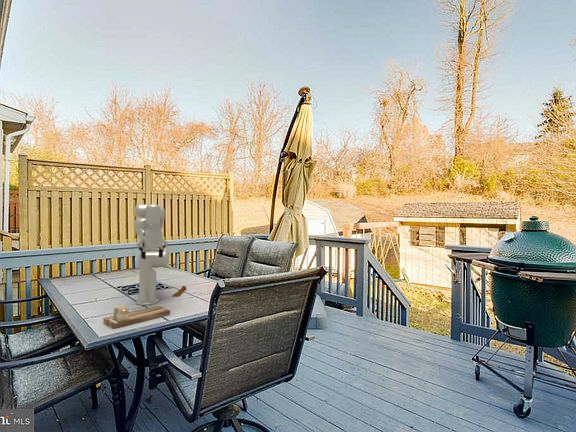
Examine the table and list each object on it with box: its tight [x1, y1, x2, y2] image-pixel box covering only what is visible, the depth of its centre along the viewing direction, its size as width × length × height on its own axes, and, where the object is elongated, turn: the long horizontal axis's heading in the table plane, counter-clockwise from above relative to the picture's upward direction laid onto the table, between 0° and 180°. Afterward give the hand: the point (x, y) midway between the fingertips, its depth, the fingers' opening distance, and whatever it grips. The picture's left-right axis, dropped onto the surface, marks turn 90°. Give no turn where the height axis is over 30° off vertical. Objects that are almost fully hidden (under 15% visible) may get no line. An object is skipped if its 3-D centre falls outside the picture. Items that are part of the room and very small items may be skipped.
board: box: [102, 305, 171, 330], centre depth 163 cm, size 12×29×3 cm, turn 141°
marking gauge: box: [113, 304, 130, 322], centre depth 155 cm, size 8×5×6 cm, turn 51°
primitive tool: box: [171, 285, 187, 298], centre depth 217 cm, size 19×6×4 cm, turn 4°
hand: (152, 258), depth 174 cm, fingers open, 9 cm apart
